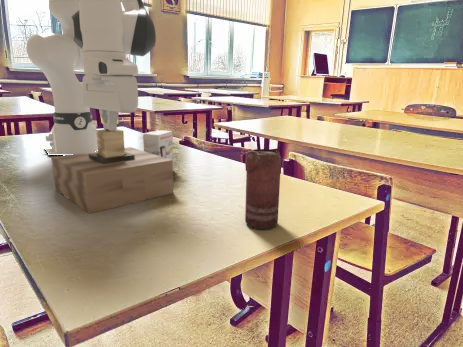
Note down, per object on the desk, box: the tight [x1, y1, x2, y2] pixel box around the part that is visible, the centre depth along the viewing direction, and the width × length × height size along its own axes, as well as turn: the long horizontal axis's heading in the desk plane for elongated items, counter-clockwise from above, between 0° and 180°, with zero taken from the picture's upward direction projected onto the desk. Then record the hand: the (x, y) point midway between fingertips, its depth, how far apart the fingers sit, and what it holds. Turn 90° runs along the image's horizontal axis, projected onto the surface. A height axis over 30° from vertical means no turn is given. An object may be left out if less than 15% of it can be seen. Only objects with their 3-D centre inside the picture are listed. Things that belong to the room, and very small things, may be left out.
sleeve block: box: [51, 146, 174, 214], centre depth 84 cm, size 20×20×9 cm
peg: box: [96, 128, 125, 158], centre depth 83 cm, size 4×4×9 cm
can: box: [244, 148, 282, 231], centre depth 66 cm, size 6×6×14 cm
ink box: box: [142, 129, 175, 172], centre depth 100 cm, size 9×5×12 cm, turn 162°
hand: (110, 130), depth 81 cm, fingers closed, pressing on peg
